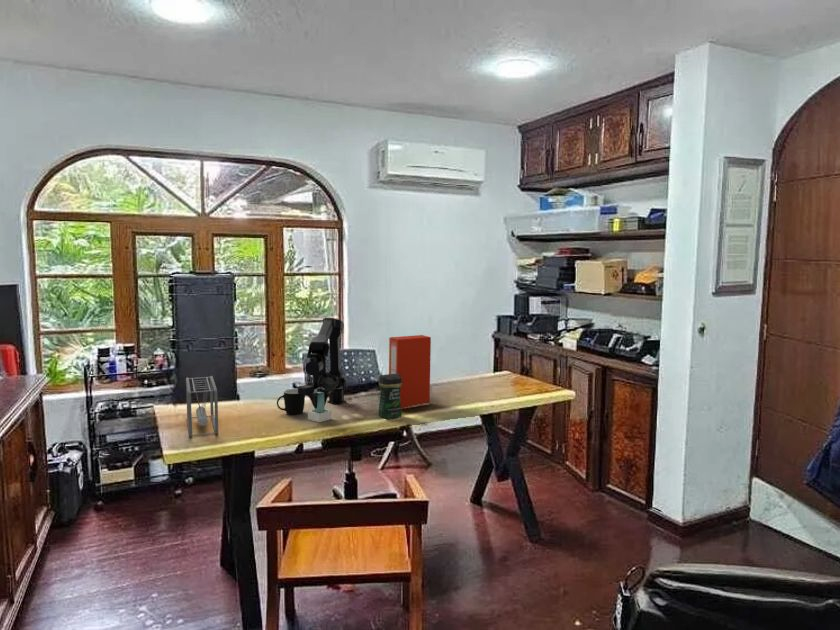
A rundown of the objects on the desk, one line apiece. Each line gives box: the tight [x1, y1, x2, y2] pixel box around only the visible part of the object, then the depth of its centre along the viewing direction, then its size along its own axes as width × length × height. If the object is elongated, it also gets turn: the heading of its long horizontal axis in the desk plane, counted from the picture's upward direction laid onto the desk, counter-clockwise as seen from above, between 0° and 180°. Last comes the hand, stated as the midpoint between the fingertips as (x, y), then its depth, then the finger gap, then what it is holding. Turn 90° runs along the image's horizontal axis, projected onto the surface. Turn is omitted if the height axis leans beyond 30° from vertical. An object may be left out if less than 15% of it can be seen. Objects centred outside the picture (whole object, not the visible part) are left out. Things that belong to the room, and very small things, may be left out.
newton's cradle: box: [185, 375, 219, 438], centre depth 234 cm, size 30×10×18 cm, turn 23°
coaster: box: [341, 413, 366, 422], centre depth 248 cm, size 10×10×1 cm
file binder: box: [388, 334, 432, 408], centre depth 267 cm, size 8×17×32 cm, turn 121°
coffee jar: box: [377, 373, 402, 420], centre depth 250 cm, size 10×8×19 cm
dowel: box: [314, 391, 325, 413], centre depth 244 cm, size 4×4×11 cm
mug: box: [276, 388, 306, 416], centre depth 253 cm, size 12×9×10 cm
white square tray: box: [307, 408, 332, 423], centre depth 245 cm, size 7×7×4 cm
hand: (319, 407), depth 244 cm, fingers closed on dowel, 4 cm apart
